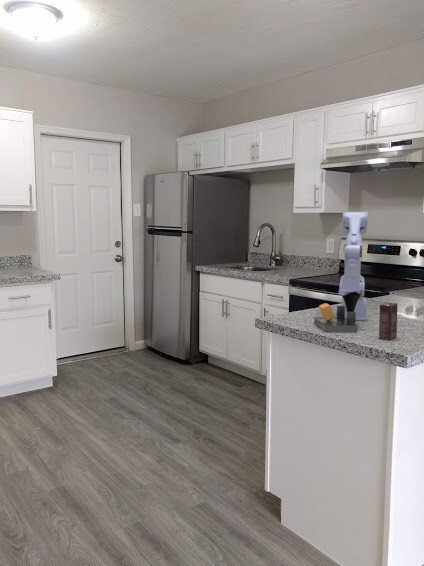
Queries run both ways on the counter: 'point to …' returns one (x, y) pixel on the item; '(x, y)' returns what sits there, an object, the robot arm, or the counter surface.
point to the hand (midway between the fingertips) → (350, 312)
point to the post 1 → (341, 312)
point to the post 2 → (351, 318)
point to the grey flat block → (334, 325)
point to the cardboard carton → (326, 312)
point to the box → (388, 321)
